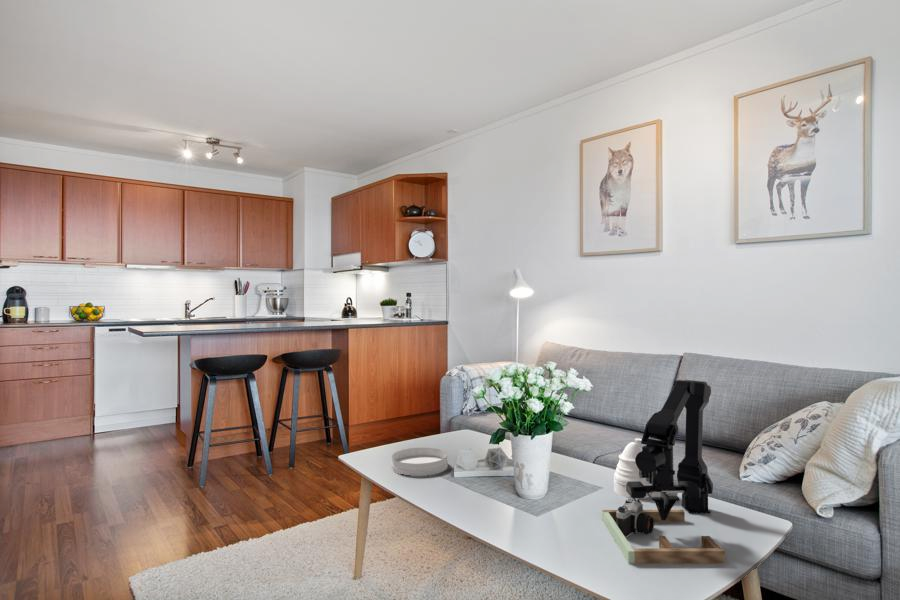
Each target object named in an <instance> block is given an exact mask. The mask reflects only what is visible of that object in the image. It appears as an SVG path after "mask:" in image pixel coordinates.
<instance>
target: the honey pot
mask: <svg viewBox="0 0 900 600" xmlns="http://www.w3.org/2000/svg"><path fill="white" fill-rule="evenodd" d="M641 441H642V438H638V437H637V438H634V441H631V442H629V443H628V444H627V445H626V446H625V447H624V449H623V451H622V453H620V454H619V455H618V459H619V461H618V463H617V464H616V468H615V472H614V473H613V490H614V493H616V494H617V495H619V496H621V497H625V498H627V499H628V498H629V499H632V498H631V496H630V495H629V494H628V492H627V491H626V484H627V483H628V482H638V481H640V482H641V483H642V484H643V485H644V486H652V484H650V483H649V482H648V481H646V478H640V477H639V469H638V467H637V465H636V462H635V458H636V456H637V454H638V453H639V452H641V451H642V447H641V445H642V444H641ZM648 498H650V497H649V496H648V495H647V493H646V496H645V497H644V498H638V499H639V500H641V499H642V500H643V499H648Z"/></svg>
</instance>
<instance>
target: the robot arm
mask: <svg viewBox="0 0 900 600" xmlns="http://www.w3.org/2000/svg"><path fill="white" fill-rule="evenodd" d="M711 394H712V388H711V386H710V385H708V382H707V381H702V380H692V379H691V380H689V379H685V380H684V379H677V380H675V381H674V382H673V387H672V389H671V391H670V393H669V394H668V397H667V398H666V399H665V402H664V404H663V406H662V408H661V409H660V410H659V411H657V412H655V413H653V414H652V415H651V417H650V418H649V419H648V421H647V422H646V424H645V427H644V430H643V434H642V437H641V439H642V441H641V445H643V446H641V449H642V451H641V452H639V453H638V454H637V456H636V458H635V462H636V465H637V467H638V469H639V477H640V478H646V481H648V482H649V483H650V484H652V486H644V485H643V484H642V483H641V482H640V481H638V482H628V483H627V484H626V491H627V492H628V494H629V495H630V496H631V498H630V499H634V498H643V499H645V498H644V497H645V496H646V493H647V495H648V496H649V498H650V499H651V500H652V501H653V502H654V504H655V506H656V510H658V512H659V515H660V517H661V520H662V521H665V520H666V518H667V516H668V514H669V512H670V510H672V508H673V506H674V505H675V504H676V503H677V502H679V501H680V497H679V496H678V493H681V506H682V508H683V509H685V510H686V511H687V513H689V514H711V513H712V512H711V510H709V494H710V495H712V494H713V489H714V483H713V481H712V479H711V477H710V476H709V473H708V466H707V464H706V462H705V461H704V459H703V426H704V425H703V423H704V422H703V418H704V417H703V415H704V410H705V408H706V407H707V405H708V404H709V403H710V397H711ZM684 408H685V435H684V437H685V442H684V457H683V459H682V460H681V461H680V462H679V463H678V465H677V468H678V469H677V472H676V471H675V470H674V446H675V444H676V440H677V437H678V434H679V426H678V421H679V418H680V416H681V414H682V412H683V410H684ZM675 475H676V479H677V483H678V485H677V484H676V485H675V484H674V483H675V482H674V477H675Z"/></svg>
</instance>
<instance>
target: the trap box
mask: <svg viewBox="0 0 900 600" xmlns="http://www.w3.org/2000/svg"><path fill="white" fill-rule="evenodd" d="M602 510H603V511H604V512H609V514H610V515H611V517H612V518H613V520H614V521H615V523H617V518H616V516H617V511H618V509H602ZM643 510H644V511H643V513H644V514H645V515H650V516H651V517H652V518H653V520H654V523H685V522H686V520H685V518H686V517H685V511H684V510H683V509H671V510H670V512H669V514H668V516H667V518H666V520H665V521H662V520H661V517H660V515H659V512H658V509H643ZM602 517H603V516H602V515H601V518H602ZM700 536H701V537H700V539H701V547H700V548H694V547H693V548H692V547H691V548H690V547H689V548H686V547H683V548H681V547H679V548H675V546H674V545H673V544H672V543H671V542H670V540H669V539H668V537H666V536H665V535H659V536H658V548H656V547H655V548H648V547H646V548H641V547H640V548H633V550H634V553H635V563H634V564H725V563H726V561H725V560H726V558H725V557H726V555H725V553H726V551H725V550H724V549H723V548H722V547H721V546H720V545H719V544H718V543H717V541H715V540H714V539H713V538H712V537H711V536H710V535H700Z"/></svg>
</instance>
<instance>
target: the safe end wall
mask: <svg viewBox="0 0 900 600" xmlns="http://www.w3.org/2000/svg"><path fill="white" fill-rule="evenodd" d="M603 510H604V509H602V510H601V514H602V515H601V521H602V522H603V524H604V525H605V527H606V529H607V531H608V532H609V534H610V535H611V537H612V538H613V541H614V542H615V544H616V546H617V547H618V549H619V550H620V553H622V556H623V557H624V558H625V560H626V562H627V564H636V563H635V553H634V550H633V549H634V548H633V547H632V546H631V544H630V542H629V541H628V539H627V538H625V536H624V535H623V533H622V532H621V530H620V529H619V527H618V526H617V522H615V521H614V520H613V518H612V517H611V515H610V514H609V512H604V511H603ZM602 516H603V517H602Z"/></svg>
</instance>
